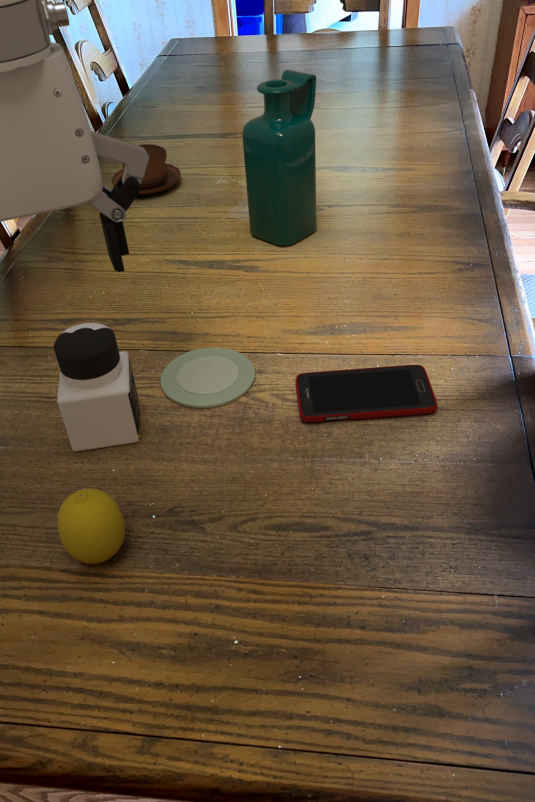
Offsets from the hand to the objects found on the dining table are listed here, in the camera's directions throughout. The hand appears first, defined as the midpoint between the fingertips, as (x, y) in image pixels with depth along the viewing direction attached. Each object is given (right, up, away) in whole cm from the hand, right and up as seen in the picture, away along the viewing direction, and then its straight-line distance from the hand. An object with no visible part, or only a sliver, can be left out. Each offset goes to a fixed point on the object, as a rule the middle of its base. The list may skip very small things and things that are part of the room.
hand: (55, 278), depth 55 cm
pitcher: (+19, +17, +56) cm, 61 cm away
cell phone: (+27, -9, +24) cm, 37 cm away
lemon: (+1, -23, +9) cm, 25 cm away
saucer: (+9, -7, +28) cm, 31 cm away
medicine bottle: (-1, -12, +23) cm, 26 cm away
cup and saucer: (-5, +28, +72) cm, 77 cm away
